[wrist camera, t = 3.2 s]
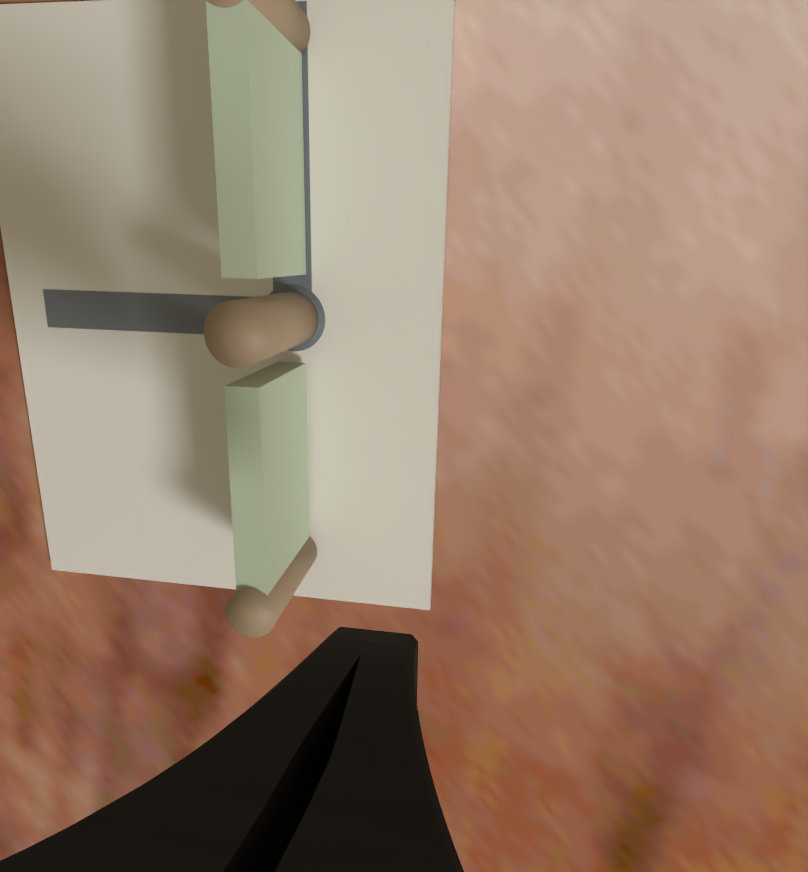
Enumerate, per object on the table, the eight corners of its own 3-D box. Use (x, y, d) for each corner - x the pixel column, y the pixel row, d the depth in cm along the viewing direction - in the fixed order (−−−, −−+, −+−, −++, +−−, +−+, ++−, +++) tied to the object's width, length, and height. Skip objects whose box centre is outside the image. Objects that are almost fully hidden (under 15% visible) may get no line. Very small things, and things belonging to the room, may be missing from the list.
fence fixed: (268, 343, 19) (206, 366, 15) (255, 2, 17) (176, -78, 13) (318, 345, 19) (268, 369, 15) (313, 0, 16) (251, -82, 12)
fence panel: (277, 566, 21) (227, 634, 17) (269, 361, 19) (211, 386, 15) (317, 570, 21) (275, 640, 17) (314, 363, 19) (265, 390, 15)
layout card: (57, 565, 23) (51, 570, 23) (-25, 9, 18) (-35, 5, 18) (430, 605, 21) (429, 610, 21) (455, -9, 16) (454, -14, 16)
